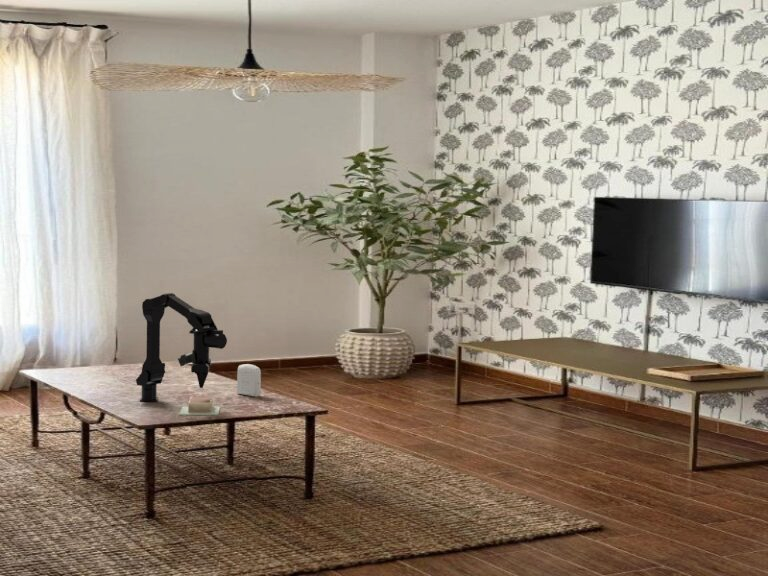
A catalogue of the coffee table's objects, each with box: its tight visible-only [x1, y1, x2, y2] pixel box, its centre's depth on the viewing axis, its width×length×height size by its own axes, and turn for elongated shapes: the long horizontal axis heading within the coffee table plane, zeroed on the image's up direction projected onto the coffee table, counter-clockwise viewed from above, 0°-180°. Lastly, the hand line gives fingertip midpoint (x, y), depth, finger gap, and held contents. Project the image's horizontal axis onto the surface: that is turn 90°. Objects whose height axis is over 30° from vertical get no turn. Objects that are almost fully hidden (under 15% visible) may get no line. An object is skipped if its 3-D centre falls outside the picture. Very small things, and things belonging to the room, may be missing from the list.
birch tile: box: [187, 396, 213, 413], centre depth 427 cm, size 4×8×12 cm
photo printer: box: [236, 363, 262, 398], centre depth 460 cm, size 10×4×12 cm, turn 56°
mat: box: [179, 406, 221, 416], centre depth 426 cm, size 14×14×1 cm
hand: (201, 387), depth 429 cm, fingers closed
